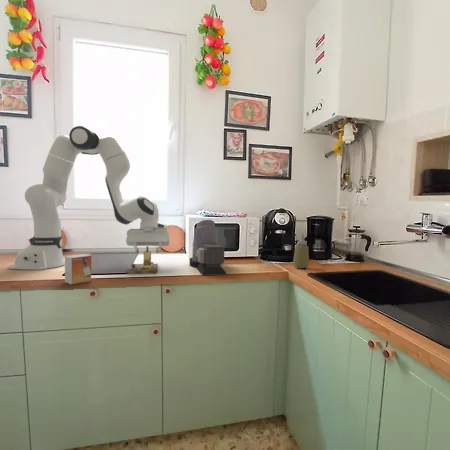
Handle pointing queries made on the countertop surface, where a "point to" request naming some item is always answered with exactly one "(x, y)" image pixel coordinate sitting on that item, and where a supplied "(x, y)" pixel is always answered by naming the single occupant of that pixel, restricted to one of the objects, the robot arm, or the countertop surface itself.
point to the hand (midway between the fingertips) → (147, 251)
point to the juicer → (207, 249)
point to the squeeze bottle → (301, 253)
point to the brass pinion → (147, 260)
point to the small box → (77, 268)
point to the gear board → (141, 269)
